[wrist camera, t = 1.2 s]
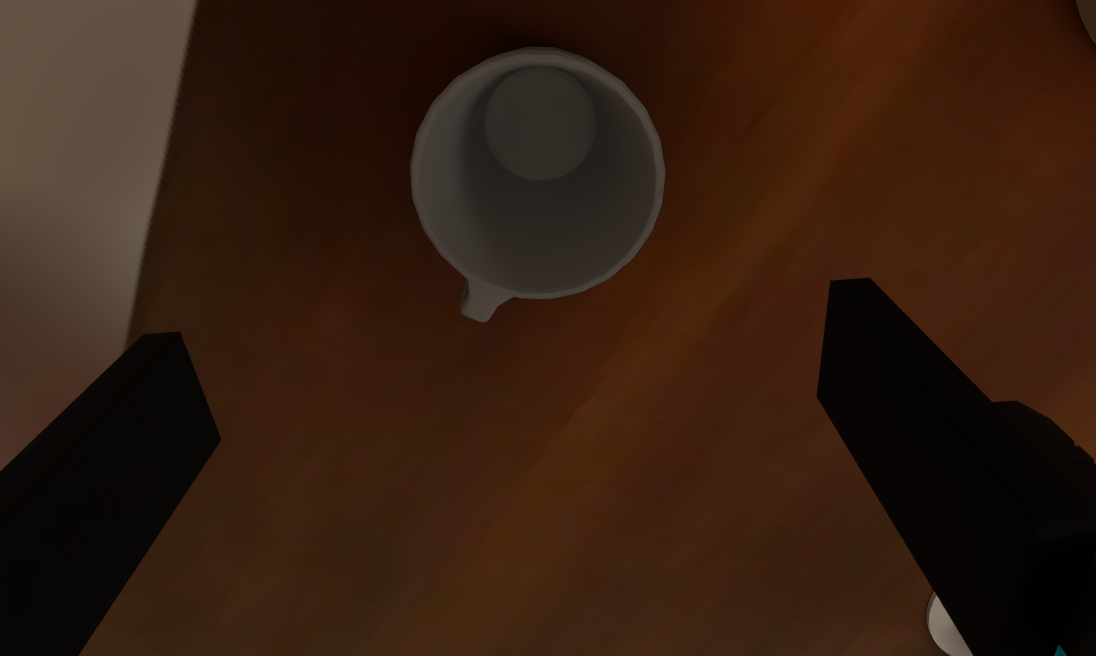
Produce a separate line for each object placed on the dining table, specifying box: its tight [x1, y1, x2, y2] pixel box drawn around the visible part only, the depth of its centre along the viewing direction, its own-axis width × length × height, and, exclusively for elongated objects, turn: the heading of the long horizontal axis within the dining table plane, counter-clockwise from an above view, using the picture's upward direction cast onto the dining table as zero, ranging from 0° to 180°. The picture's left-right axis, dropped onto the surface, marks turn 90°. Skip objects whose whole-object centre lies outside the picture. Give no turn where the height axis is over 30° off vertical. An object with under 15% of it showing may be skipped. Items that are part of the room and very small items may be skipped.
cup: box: [410, 47, 665, 322], centre depth 25 cm, size 8×10×8 cm
